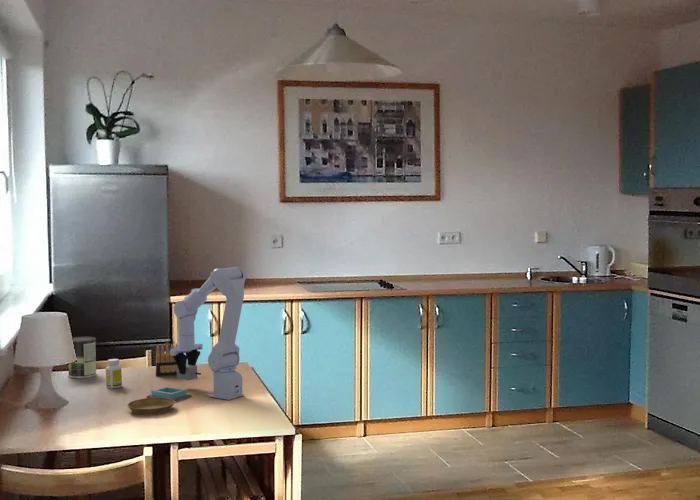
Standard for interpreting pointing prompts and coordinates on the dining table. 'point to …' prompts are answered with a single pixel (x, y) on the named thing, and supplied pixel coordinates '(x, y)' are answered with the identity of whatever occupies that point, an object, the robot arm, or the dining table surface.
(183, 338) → the robot arm
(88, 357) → the coffee can
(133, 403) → the plant saucer
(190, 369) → the block
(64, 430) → the dining table surface
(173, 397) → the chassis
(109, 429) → the dining table surface
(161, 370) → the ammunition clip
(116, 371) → the supplement bottle
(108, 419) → the dining table surface
